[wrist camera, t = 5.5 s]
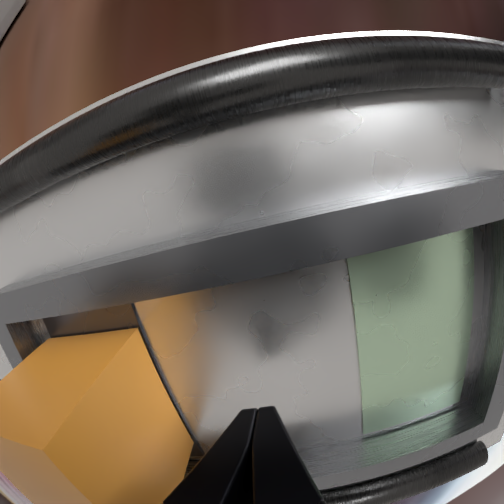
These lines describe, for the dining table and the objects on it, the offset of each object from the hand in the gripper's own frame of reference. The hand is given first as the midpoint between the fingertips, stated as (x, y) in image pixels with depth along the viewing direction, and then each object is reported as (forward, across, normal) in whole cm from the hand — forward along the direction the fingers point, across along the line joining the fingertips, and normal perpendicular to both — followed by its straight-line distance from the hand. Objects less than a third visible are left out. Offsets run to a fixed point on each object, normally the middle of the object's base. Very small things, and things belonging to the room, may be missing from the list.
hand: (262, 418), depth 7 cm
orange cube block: (+2, +5, 0) cm, 5 cm away
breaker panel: (+4, +1, 0) cm, 4 cm away
